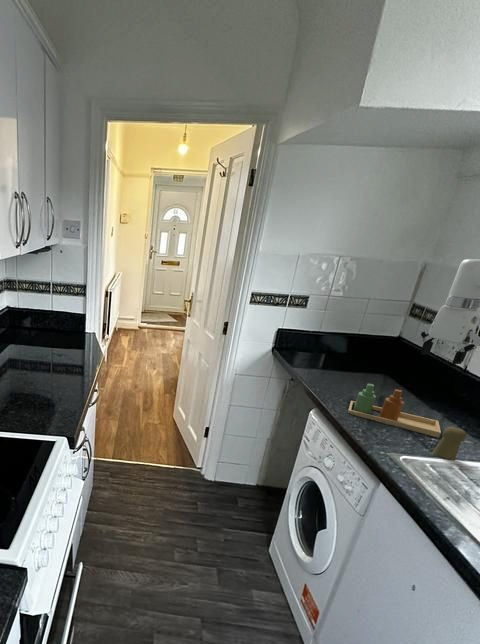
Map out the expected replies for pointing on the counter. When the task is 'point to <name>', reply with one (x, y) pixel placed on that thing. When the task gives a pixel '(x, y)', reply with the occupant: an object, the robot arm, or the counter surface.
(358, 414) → the tray
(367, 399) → the green bottle
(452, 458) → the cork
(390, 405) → the amber bottle
